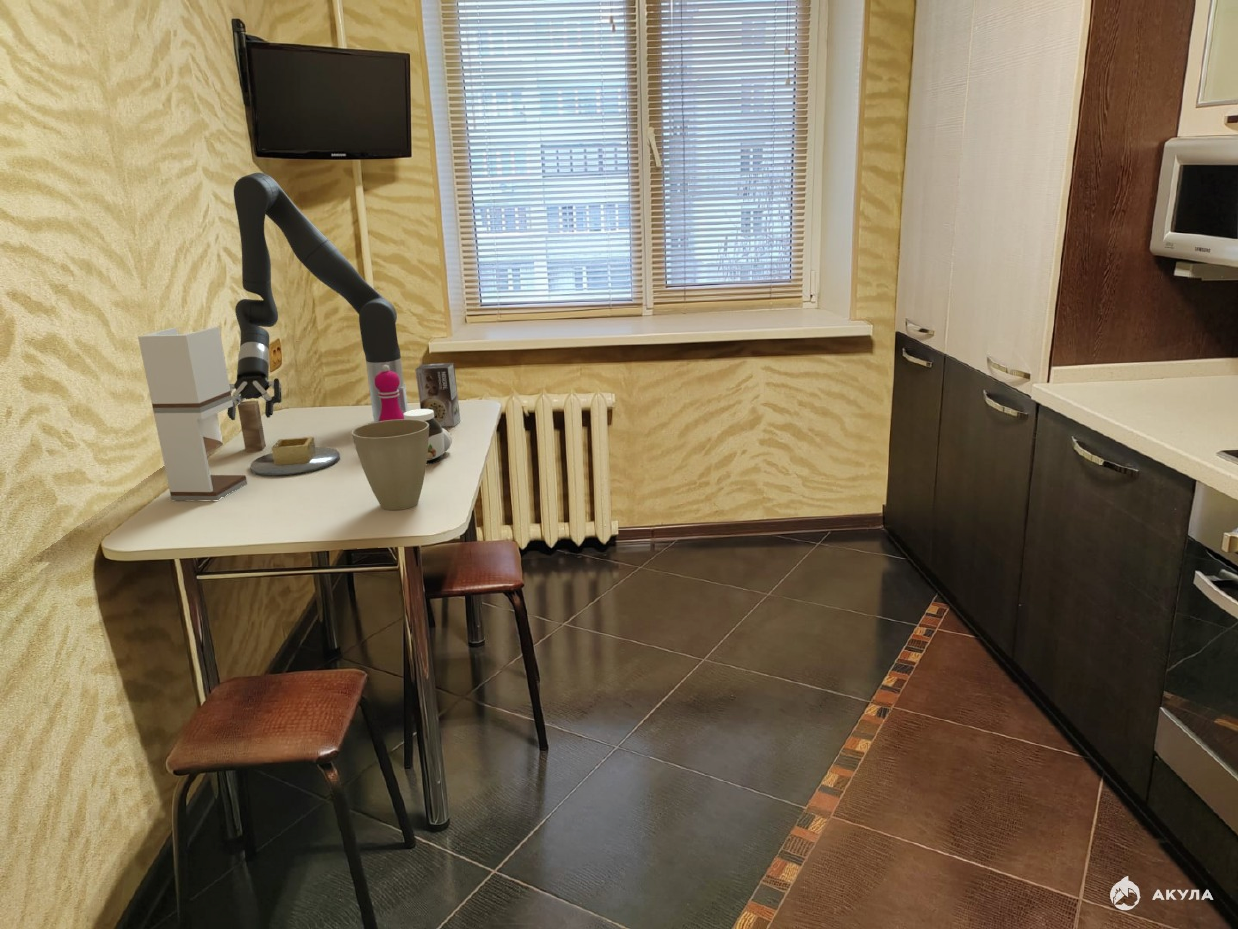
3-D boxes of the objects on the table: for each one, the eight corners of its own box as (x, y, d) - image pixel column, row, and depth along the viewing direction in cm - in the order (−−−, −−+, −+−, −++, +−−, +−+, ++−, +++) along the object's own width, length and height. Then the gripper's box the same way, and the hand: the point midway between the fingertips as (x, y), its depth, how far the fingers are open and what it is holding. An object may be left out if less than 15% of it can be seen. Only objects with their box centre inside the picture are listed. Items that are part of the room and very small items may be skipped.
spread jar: (402, 467, 207) (396, 418, 204) (402, 454, 218) (396, 407, 215) (455, 461, 210) (450, 413, 206) (452, 449, 220) (447, 402, 217)
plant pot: (448, 505, 181) (440, 428, 176) (375, 522, 173) (364, 442, 169) (422, 487, 193) (413, 414, 188) (352, 502, 186) (342, 427, 181)
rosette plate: (345, 448, 225) (342, 428, 224) (333, 472, 207) (330, 450, 205) (262, 455, 223) (258, 435, 221) (242, 480, 204) (238, 458, 202)
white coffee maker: (217, 501, 190) (186, 335, 180) (171, 500, 192) (138, 336, 182) (247, 483, 201) (218, 326, 191) (203, 483, 203) (173, 327, 193)
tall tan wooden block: (265, 446, 231) (258, 400, 228) (262, 450, 227) (254, 404, 224) (249, 447, 231) (241, 401, 227) (245, 451, 227) (237, 405, 223)
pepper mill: (374, 446, 226) (363, 367, 220) (391, 438, 232) (381, 361, 227) (398, 448, 223) (388, 368, 217) (415, 440, 230) (406, 362, 224)
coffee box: (461, 420, 247) (455, 362, 242) (454, 426, 241) (448, 367, 236) (428, 421, 248) (422, 363, 243) (421, 427, 242) (414, 368, 237)
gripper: (220, 357, 230) (215, 411, 223) (278, 353, 232) (275, 407, 225) (229, 373, 237) (225, 427, 229) (285, 370, 239) (283, 422, 231)
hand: (250, 417), depth 227 cm, fingers open, 8 cm apart
